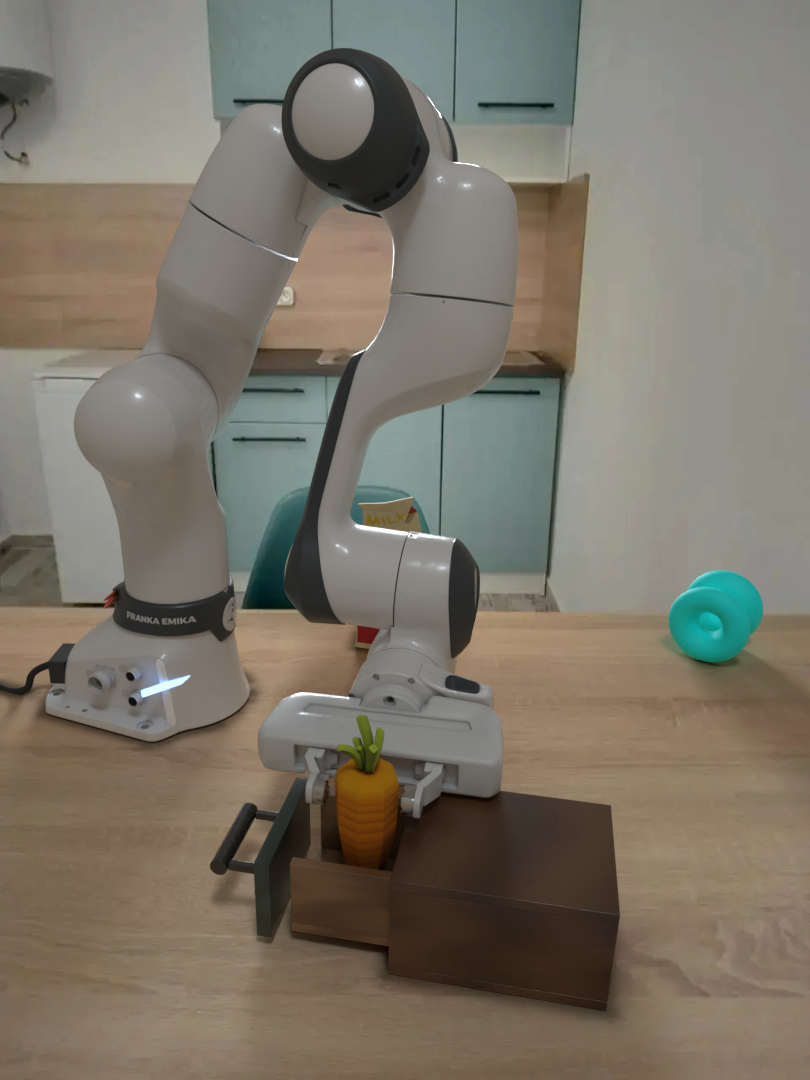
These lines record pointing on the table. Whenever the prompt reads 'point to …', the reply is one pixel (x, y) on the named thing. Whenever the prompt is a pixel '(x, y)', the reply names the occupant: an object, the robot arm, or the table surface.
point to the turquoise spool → (715, 616)
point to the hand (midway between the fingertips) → (361, 803)
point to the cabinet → (508, 897)
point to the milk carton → (387, 517)
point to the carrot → (366, 800)
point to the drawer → (311, 873)
